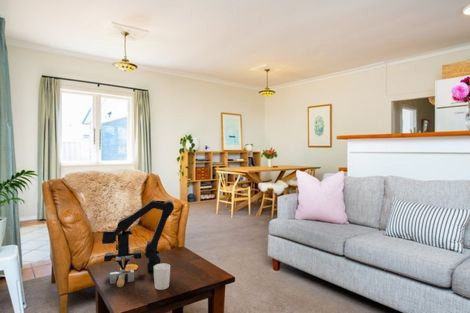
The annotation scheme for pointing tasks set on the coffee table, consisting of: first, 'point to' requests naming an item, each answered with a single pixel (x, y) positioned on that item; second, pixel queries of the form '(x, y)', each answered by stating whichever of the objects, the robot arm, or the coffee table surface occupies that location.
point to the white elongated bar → (121, 279)
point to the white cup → (161, 276)
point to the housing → (114, 275)
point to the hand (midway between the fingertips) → (123, 271)
